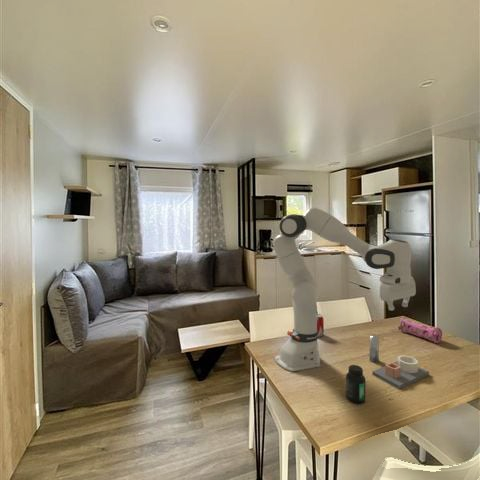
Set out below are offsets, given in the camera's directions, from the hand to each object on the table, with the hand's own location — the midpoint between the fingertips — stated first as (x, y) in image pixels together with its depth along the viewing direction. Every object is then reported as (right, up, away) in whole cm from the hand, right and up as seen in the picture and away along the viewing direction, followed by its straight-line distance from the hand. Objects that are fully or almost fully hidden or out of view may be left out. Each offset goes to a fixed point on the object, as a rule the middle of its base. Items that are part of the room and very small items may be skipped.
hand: (398, 308), depth 117 cm
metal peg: (-4, -29, +13) cm, 31 cm away
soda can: (-23, -27, +44) cm, 56 cm away
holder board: (+1, -29, 0) cm, 29 cm away
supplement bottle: (-25, -31, -15) cm, 42 cm away
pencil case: (+35, -27, +39) cm, 59 cm away
